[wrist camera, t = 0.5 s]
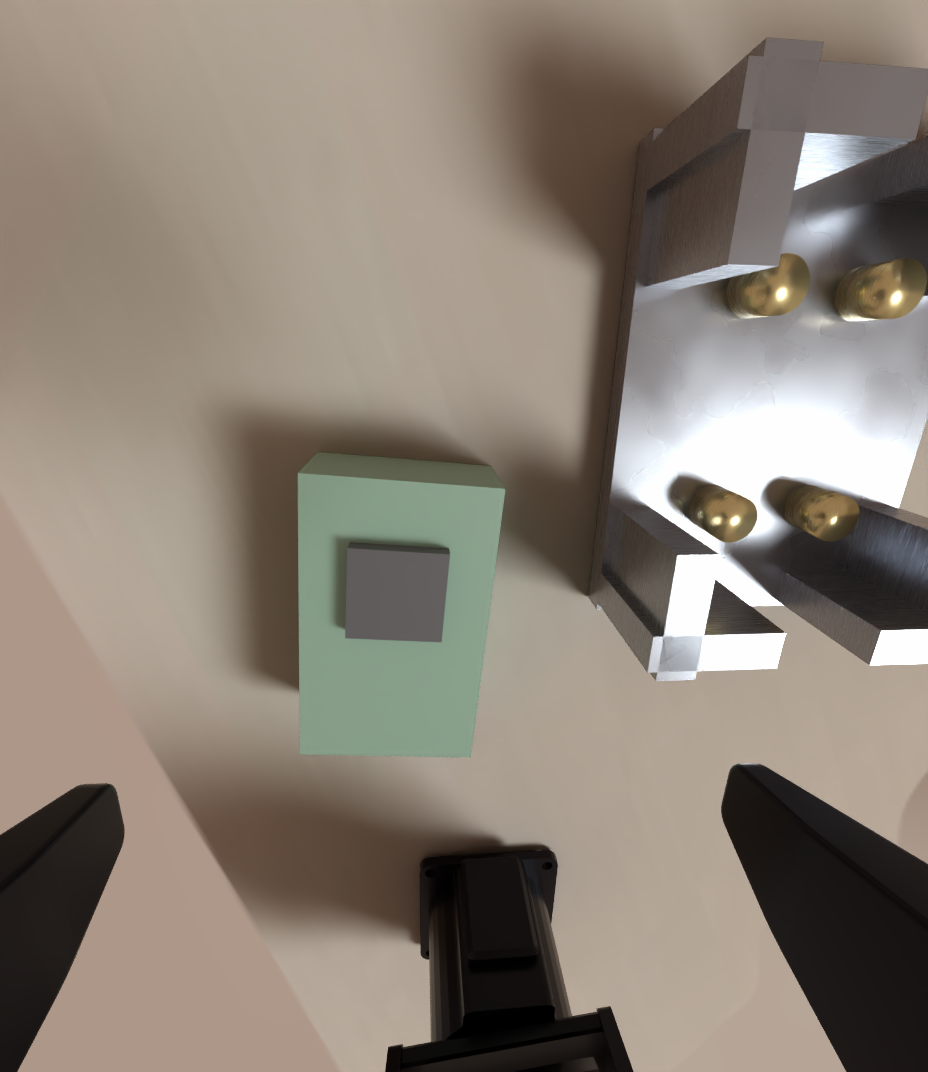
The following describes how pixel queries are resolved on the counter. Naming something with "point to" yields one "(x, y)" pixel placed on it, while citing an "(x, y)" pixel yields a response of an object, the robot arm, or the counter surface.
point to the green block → (393, 603)
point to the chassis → (772, 371)
